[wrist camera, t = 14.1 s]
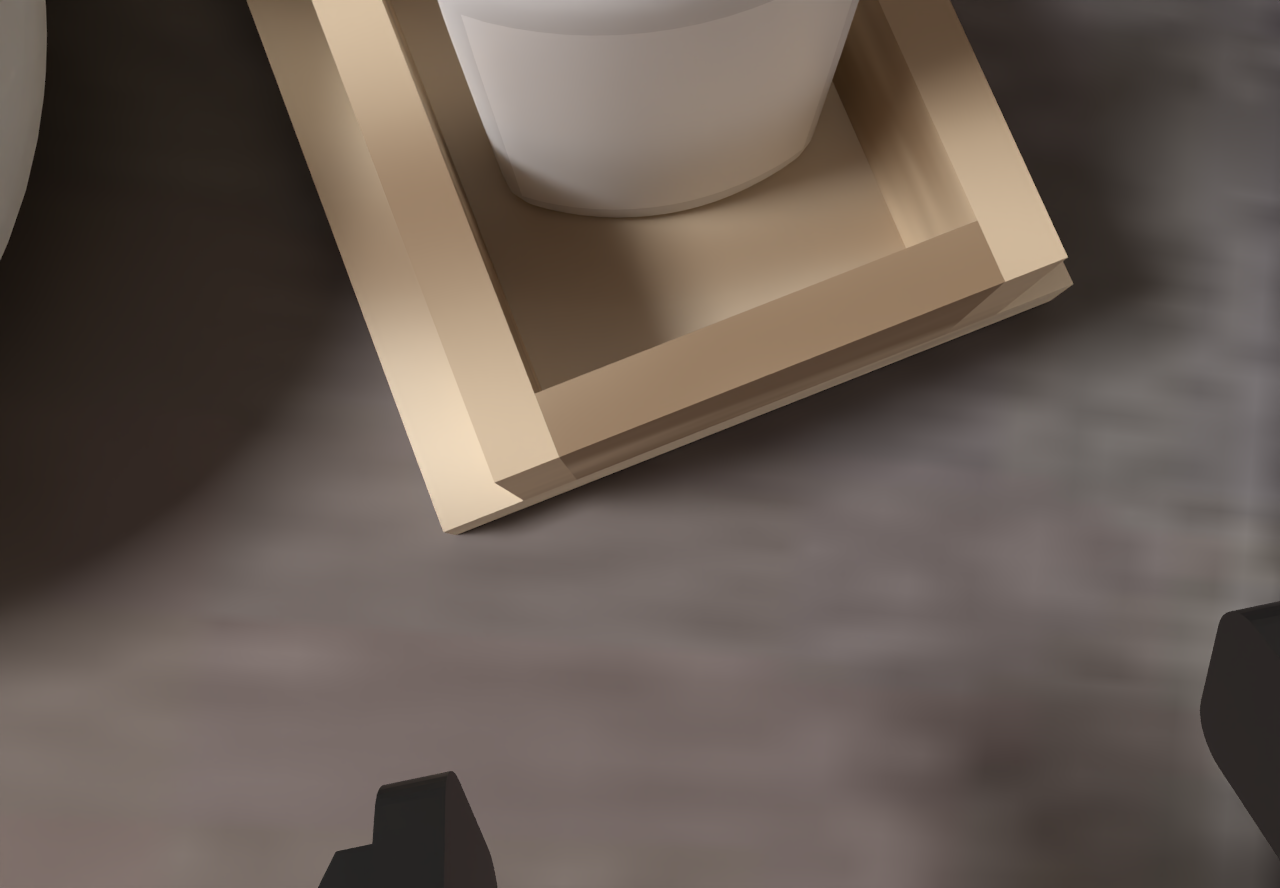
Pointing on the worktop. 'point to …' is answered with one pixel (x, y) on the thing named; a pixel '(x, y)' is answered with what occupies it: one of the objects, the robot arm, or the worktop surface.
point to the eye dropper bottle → (645, 94)
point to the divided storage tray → (649, 251)
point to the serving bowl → (19, 101)
